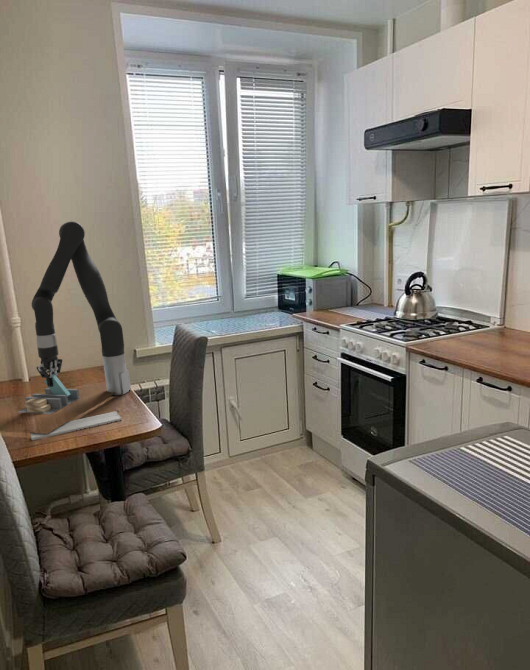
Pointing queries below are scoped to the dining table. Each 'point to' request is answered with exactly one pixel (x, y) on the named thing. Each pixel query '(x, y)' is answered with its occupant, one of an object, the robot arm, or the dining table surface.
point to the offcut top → (35, 403)
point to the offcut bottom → (42, 409)
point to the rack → (54, 400)
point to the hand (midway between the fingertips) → (52, 385)
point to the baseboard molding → (80, 424)
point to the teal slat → (58, 387)
